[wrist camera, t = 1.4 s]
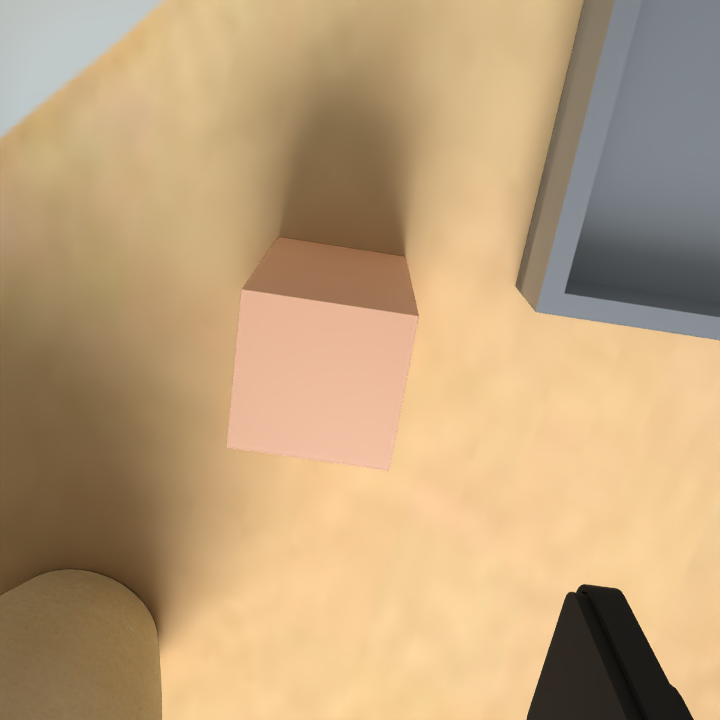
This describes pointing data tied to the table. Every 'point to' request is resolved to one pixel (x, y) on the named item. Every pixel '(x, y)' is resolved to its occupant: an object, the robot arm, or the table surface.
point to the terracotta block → (323, 354)
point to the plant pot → (77, 651)
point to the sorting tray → (634, 173)
